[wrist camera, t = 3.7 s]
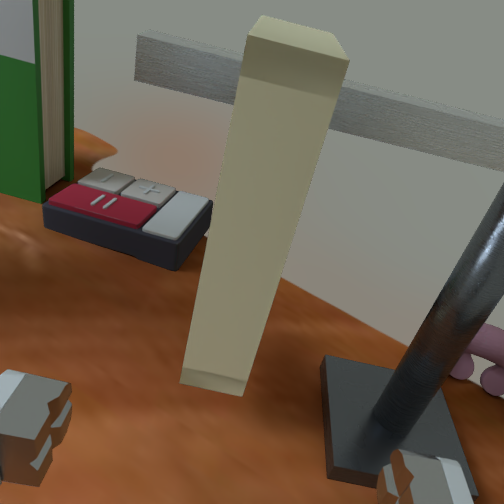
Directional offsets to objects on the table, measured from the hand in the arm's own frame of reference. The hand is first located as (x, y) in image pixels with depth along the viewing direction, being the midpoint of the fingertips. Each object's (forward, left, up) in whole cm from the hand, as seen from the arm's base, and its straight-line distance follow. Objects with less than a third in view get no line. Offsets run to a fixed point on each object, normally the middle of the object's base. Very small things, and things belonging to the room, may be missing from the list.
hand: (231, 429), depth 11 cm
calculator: (-12, +36, -18) cm, 42 cm away
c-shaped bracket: (0, +16, -13) cm, 20 cm away
